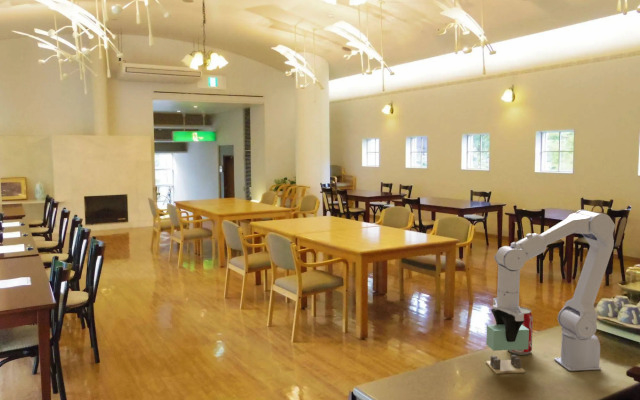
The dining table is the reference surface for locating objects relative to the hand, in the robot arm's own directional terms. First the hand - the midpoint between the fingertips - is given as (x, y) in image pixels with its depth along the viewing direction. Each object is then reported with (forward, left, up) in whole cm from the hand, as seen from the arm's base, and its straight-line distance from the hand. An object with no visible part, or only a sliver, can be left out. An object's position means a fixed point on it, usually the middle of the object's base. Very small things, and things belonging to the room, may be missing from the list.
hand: (506, 337), depth 143 cm
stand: (0, 0, -9) cm, 9 cm away
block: (0, 0, -3) cm, 3 cm away
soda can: (-9, -11, -9) cm, 17 cm away
